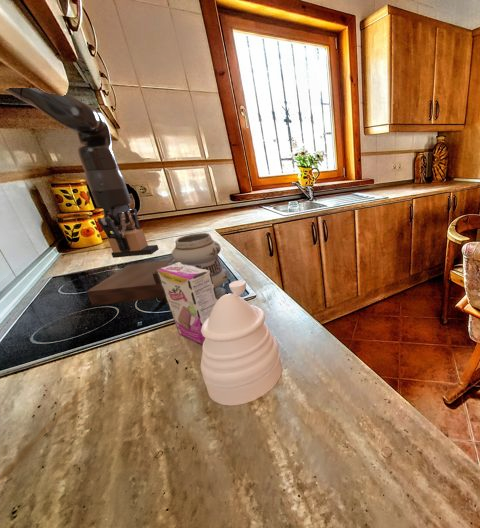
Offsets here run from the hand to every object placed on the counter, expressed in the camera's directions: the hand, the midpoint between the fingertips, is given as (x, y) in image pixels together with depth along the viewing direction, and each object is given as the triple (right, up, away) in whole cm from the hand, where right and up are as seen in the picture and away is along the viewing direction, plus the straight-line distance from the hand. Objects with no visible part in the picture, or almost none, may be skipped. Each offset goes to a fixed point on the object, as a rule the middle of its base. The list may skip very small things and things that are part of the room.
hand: (130, 247), depth 80 cm
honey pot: (+45, -25, -29) cm, 59 cm away
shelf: (+2, -13, +5) cm, 14 cm away
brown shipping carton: (+1, -2, +1) cm, 2 cm away
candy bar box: (+30, -21, -17) cm, 41 cm away
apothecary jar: (+23, -14, 0) cm, 27 cm away
